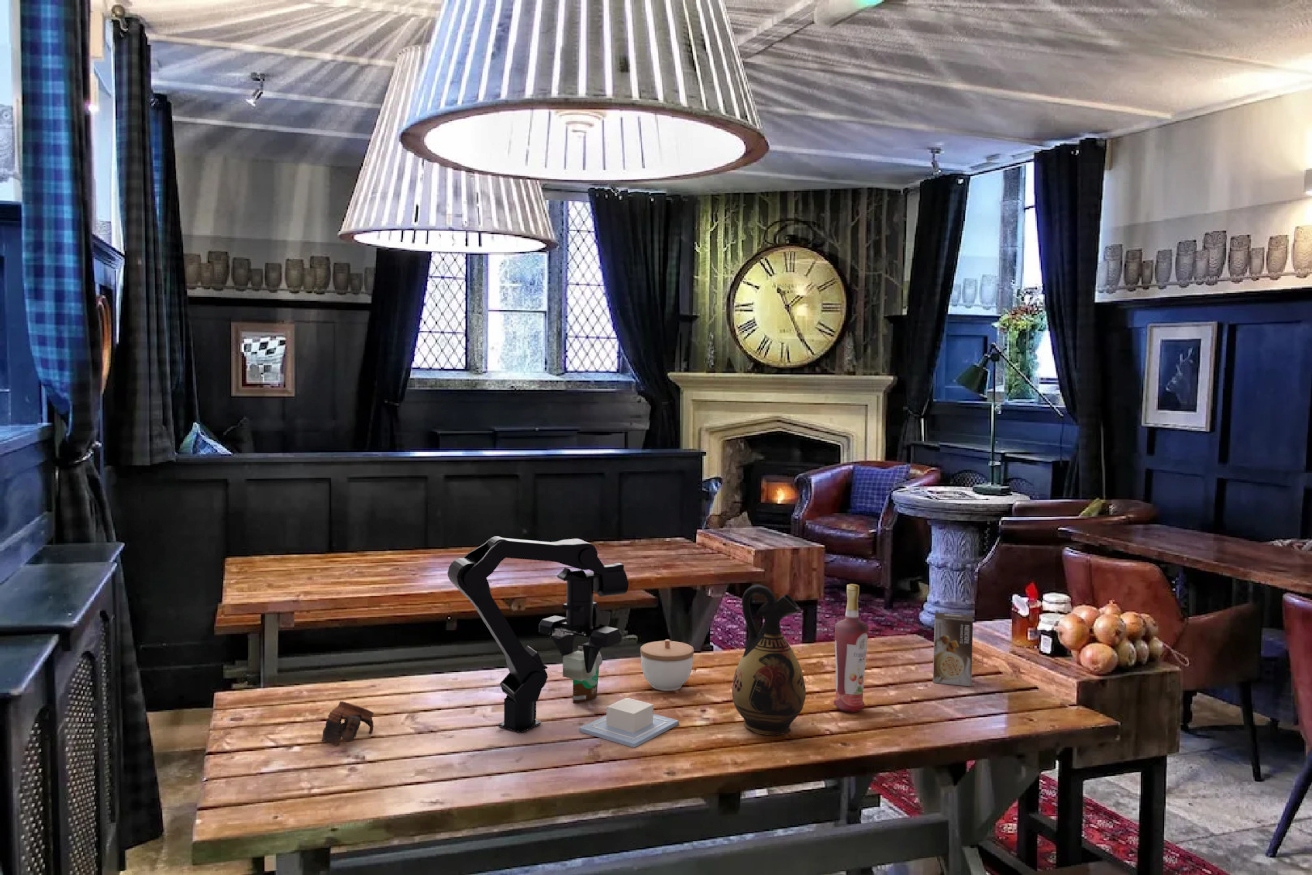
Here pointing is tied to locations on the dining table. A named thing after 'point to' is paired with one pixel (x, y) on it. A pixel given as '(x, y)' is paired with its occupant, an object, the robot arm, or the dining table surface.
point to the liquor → (850, 655)
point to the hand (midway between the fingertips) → (579, 670)
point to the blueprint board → (627, 740)
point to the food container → (586, 684)
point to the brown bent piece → (346, 723)
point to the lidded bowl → (666, 664)
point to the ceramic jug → (768, 669)
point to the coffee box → (953, 649)
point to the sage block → (576, 666)
